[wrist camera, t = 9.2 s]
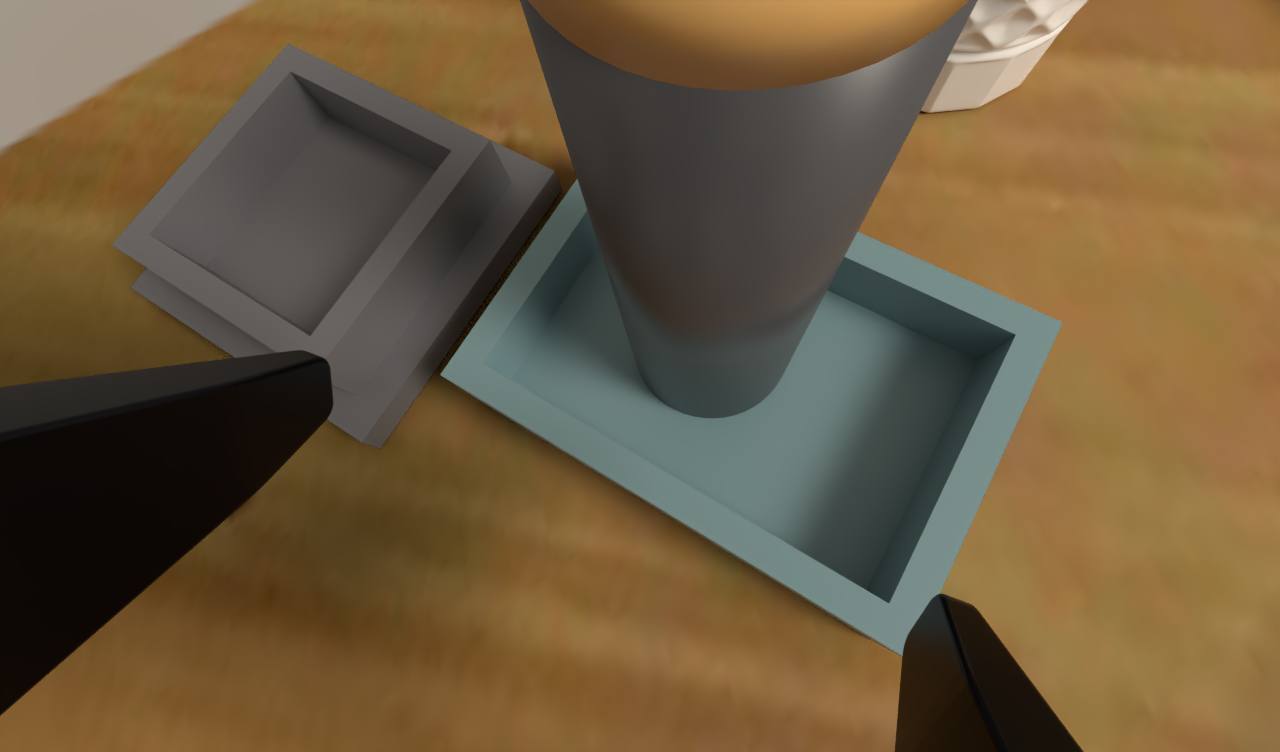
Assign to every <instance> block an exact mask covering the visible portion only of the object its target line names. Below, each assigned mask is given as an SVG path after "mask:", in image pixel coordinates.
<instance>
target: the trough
mask: <svg viewBox="0 0 1280 752" xmlns="http://www.w3.org/2000/svg"><path fill="white" fill-rule="evenodd" d="M1062 323H1063V322H1061V321H1058V320H1056V319H1054V318H1052V317H1049V316H1047V315H1045V314H1043V313H1040V312H1038V311H1036V310H1034V309H1031V308H1029V307H1027V306H1024V305H1022V304H1020V303H1018V302H1015V301H1013V300H1011V299H1009V298H1006V297H1004V296H1002V295H1000V294H997V293H995V292H993V291H991V290H988V289H986V288H984V287H981V286H979V285H977V284H975V283H972V282H970V281H968V280H966V279H963V278H961V277H959V276H957V275H954V274H952V273H950V272H948V271H945V270H943V269H941V268H938V267H936V266H934V265H932V264H929V263H927V262H925V261H923V260H920V259H918V258H916V257H914V256H911V255H909V254H907V253H905V252H902V251H900V250H898V249H896V248H893V247H891V246H889V245H886V244H884V243H882V242H880V241H877V240H875V239H873V238H871V237H868V236H866V235H864V234H862V233H859V232H857V234H856V236H855V238H854V239H853V241H852V243H851V245H850V247H849V249H848V251H847V253H846V255H845V257H844V259H843V261H842V263H841V264H840V266H839V268H838V270H837V272H836V274H835V276H834V278H833V280H832V282H831V284H830V286H829V288H828V289H827V291H826V293H825V295H824V297H823V299H822V301H821V303H820V305H819V307H818V309H817V311H816V313H815V314H814V316H813V318H812V320H811V322H810V324H809V326H808V328H807V330H806V332H805V334H804V336H803V337H802V339H801V341H800V343H799V345H798V347H797V349H796V351H795V353H794V355H793V357H792V359H791V361H790V362H789V364H788V366H787V368H786V370H785V372H784V374H783V376H782V378H781V379H780V381H779V383H778V384H777V386H776V387H775V388H774V390H773V391H772V392H771V393H770V394H769V395H768V396H767V397H766V398H765V399H764V400H763V401H762V402H760V403H759V404H757V405H756V406H755V407H753V408H751V409H749V410H747V411H745V412H742V413H740V414H737V415H734V416H729V417H725V418H700V417H694V416H690V415H687V414H684V413H681V412H679V411H677V410H675V409H673V408H671V407H669V406H668V405H666V404H665V403H663V402H662V401H661V400H660V399H659V398H657V397H656V396H655V395H654V394H653V392H652V391H651V390H650V389H649V388H648V386H647V385H646V383H645V382H644V380H643V378H642V376H641V374H640V372H639V369H638V367H637V364H636V361H635V358H634V354H633V351H632V348H631V345H630V342H629V339H628V336H627V333H626V329H625V326H624V323H623V320H622V317H621V314H620V311H619V308H618V304H617V301H616V298H615V295H614V292H613V289H612V286H611V283H610V280H609V276H608V273H607V270H606V267H605V264H604V261H603V258H602V255H601V251H600V248H599V245H598V242H597V239H596V236H595V233H594V230H593V226H592V223H591V220H590V217H589V214H588V211H587V208H586V205H585V201H584V198H583V195H582V192H581V189H580V186H579V183H578V180H577V179H576V181H575V182H574V184H573V185H572V187H571V188H570V189H569V191H568V192H567V194H566V195H565V197H564V198H563V200H562V201H561V202H560V204H559V205H558V207H557V208H556V210H555V211H554V212H553V214H552V215H551V217H550V218H549V220H548V221H547V222H546V224H545V225H544V227H543V228H542V230H541V231H540V232H539V234H538V235H537V237H536V238H535V240H534V241H533V243H532V244H531V245H530V247H529V248H528V250H527V251H526V253H525V254H524V255H523V257H522V258H521V260H520V261H519V263H518V264H517V265H516V267H515V268H514V270H513V271H512V273H511V274H510V275H509V277H508V278H507V280H506V281H505V283H504V284H503V286H502V287H501V288H500V290H499V291H498V293H497V294H496V296H495V297H494V298H493V300H492V301H491V303H490V304H489V306H488V307H487V308H486V310H485V311H484V313H483V314H482V316H481V317H480V318H479V320H478V321H477V323H476V324H475V326H474V327H473V329H472V330H471V331H470V333H469V334H468V336H467V337H466V339H465V340H464V341H463V343H462V344H461V346H460V347H459V349H458V350H457V351H456V353H455V354H454V356H453V357H452V359H451V360H450V361H449V363H448V364H447V366H446V367H445V369H444V370H443V372H442V373H441V374H440V375H441V376H443V377H444V378H446V379H447V380H449V381H450V382H452V383H453V384H455V385H456V386H457V387H459V388H460V389H462V390H463V391H465V392H466V393H468V394H469V395H471V396H472V397H474V398H475V399H477V400H478V401H480V402H482V403H483V404H485V405H487V406H488V407H490V408H492V409H493V410H495V411H496V412H498V413H500V414H501V415H503V416H505V417H506V418H508V419H510V420H511V421H513V422H515V423H516V424H518V425H519V426H521V427H523V428H524V429H526V430H528V431H529V432H531V433H533V434H534V435H536V436H537V437H539V438H541V439H542V440H544V441H546V442H547V443H549V444H551V445H552V446H554V447H556V448H557V449H559V450H560V451H562V452H564V453H565V454H567V455H569V456H570V457H572V458H574V459H575V460H577V461H578V462H580V463H582V464H583V465H585V466H587V467H588V468H590V469H592V470H593V471H595V472H597V473H598V474H600V475H601V476H603V477H605V478H606V479H608V480H610V481H611V482H613V483H615V484H616V485H618V486H619V487H621V488H623V489H624V490H626V491H628V492H629V493H631V494H633V495H634V496H636V497H637V498H639V499H641V500H642V501H644V502H646V503H647V504H649V505H651V506H652V507H654V508H656V509H657V510H659V511H660V512H662V513H664V514H665V515H667V516H669V517H670V518H672V519H674V520H675V521H677V522H678V523H680V524H682V525H683V526H685V527H687V528H688V529H690V530H692V531H693V532H695V533H697V534H698V535H700V536H701V537H703V538H705V539H706V540H708V541H710V542H711V543H713V544H715V545H716V546H718V547H719V548H721V549H723V550H724V551H726V552H728V553H729V554H731V555H733V556H734V557H736V558H738V559H739V560H741V561H742V562H744V563H746V564H747V565H749V566H751V567H752V568H754V569H756V570H757V571H759V572H760V573H762V574H764V575H765V576H767V577H769V578H770V579H772V580H774V581H775V582H777V583H778V584H780V585H782V586H783V587H785V588H787V589H788V590H790V591H792V592H793V593H795V594H797V595H798V596H800V597H801V598H803V599H805V600H806V601H808V602H810V603H811V604H813V605H815V606H816V607H818V608H819V609H821V610H823V611H824V612H826V613H828V614H829V615H831V616H833V617H834V618H836V619H838V620H839V621H841V622H842V623H844V624H846V625H847V626H849V627H851V628H852V629H854V630H856V631H857V632H859V633H860V634H862V635H864V636H865V637H867V638H869V639H870V640H872V641H874V642H876V643H877V644H879V645H881V646H883V647H885V648H887V649H889V650H891V651H892V652H894V653H896V654H898V655H900V656H903V648H904V644H905V640H906V638H907V635H908V633H909V632H910V630H911V629H912V627H913V626H914V624H915V623H916V621H917V620H918V618H919V617H920V615H921V614H922V612H923V611H924V609H925V608H926V606H927V605H928V603H929V602H930V600H931V599H932V598H933V597H934V596H936V595H937V594H940V592H941V589H942V587H943V585H944V583H945V581H946V578H947V576H948V574H949V572H950V569H951V567H952V565H953V563H954V561H955V558H956V556H957V554H958V552H959V550H960V547H961V545H962V543H963V541H964V539H965V536H966V534H967V532H968V530H969V528H970V525H971V523H972V521H973V519H974V517H975V514H976V512H977V510H978V508H979V506H980V503H981V501H982V499H983V497H984V495H985V492H986V490H987V488H988V486H989V484H990V481H991V479H992V477H993V475H994V473H995V470H996V468H997V466H998V464H999V462H1000V459H1001V457H1002V455H1003V453H1004V451H1005V448H1006V446H1007V444H1008V442H1009V440H1010V437H1011V435H1012V433H1013V431H1014V428H1015V426H1016V424H1017V422H1018V420H1019V417H1020V415H1021V413H1022V411H1023V409H1024V406H1025V404H1026V402H1027V400H1028V398H1029V395H1030V393H1031V391H1032V389H1033V387H1034V384H1035V382H1036V380H1037V378H1038V376H1039V373H1040V371H1041V369H1042V367H1043V365H1044V362H1045V360H1046V358H1047V356H1048V354H1049V351H1050V349H1051V347H1052V345H1053V343H1054V340H1055V338H1056V336H1057V334H1058V332H1059V329H1060V327H1061V325H1062Z"/></svg>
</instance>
